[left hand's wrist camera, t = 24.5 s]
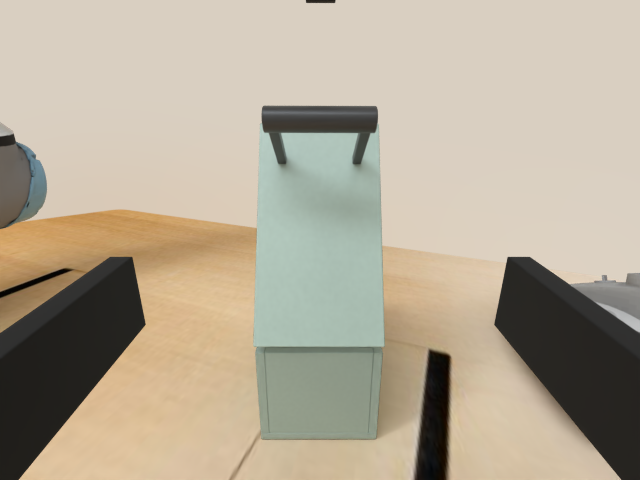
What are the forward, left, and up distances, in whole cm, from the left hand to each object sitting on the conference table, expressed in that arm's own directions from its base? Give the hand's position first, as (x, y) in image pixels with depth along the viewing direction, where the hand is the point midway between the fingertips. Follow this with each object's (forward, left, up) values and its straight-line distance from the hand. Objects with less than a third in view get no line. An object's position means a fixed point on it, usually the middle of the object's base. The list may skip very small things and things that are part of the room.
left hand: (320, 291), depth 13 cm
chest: (+17, -11, -21) cm, 29 cm away
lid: (+14, -9, -3) cm, 17 cm away
